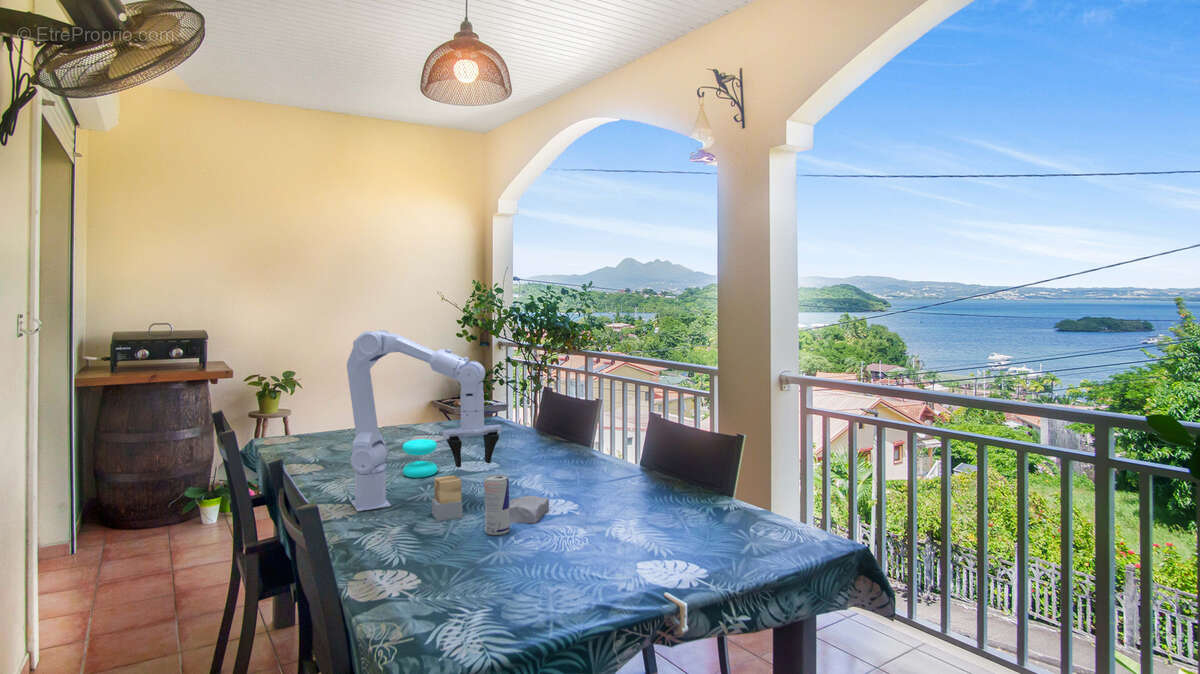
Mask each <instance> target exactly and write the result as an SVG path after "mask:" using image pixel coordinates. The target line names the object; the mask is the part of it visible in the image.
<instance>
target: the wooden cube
mask: <svg viewBox="0 0 1200 674" xmlns="http://www.w3.org/2000/svg"><path fill="white" fill-rule="evenodd" d="M433 481H434V485H433V486H434V498H435V499H436V500H437V501H438V502H439V503H440V504H444V503H450V502H456V501H461V500H462V479H461V478H459V477H458V476H456V474H453V475H446V476H439V477H434V479H433Z"/></svg>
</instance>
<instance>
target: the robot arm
mask: <svg viewBox="0 0 1200 674" xmlns="http://www.w3.org/2000/svg"><path fill="white" fill-rule="evenodd" d="M352 346H353V347H352V349H351V351H350V354H349V357H348V359H347V362H346V370H347V371H346V372H347V378H348V386H349V393H350V400H351V406H352V407H351V408H352V414H353V415H352V416H353V422H354V431H355V437H354V439H353V442H352V445H351V446H352V454H350V455H351V456H350V464H351V467H352V468H353V470H354V499H352V500H350V503H351V505H352V506H353V507H355V508H354V509H355V510H356V512H363V511H364V510H365V511H369V510H376V509H383V508H389V507H391V503H390V502H389V501H388V500H387V485H386V483H387V482H386V479H387V477H386V465H385V462H386V461H387V460H388V458H389V455H390V453H389V447H388V446H387V445H386V443H385V441H384V436H383V434H382V433H381V432H380V431H379V426H378V419H377V418H378V417H377V411H376V404H375V396H374V395H375V394H374V389H373V382H372V381H373V380H372V376H371V369H372V367H373V366H374V365H376V363H377V362H378V361H379V359H381V358H383V357H385V356H387V355H388V354H390V353H401V354H403V355H406V356H409V357H411V358H414V359H418V360H419V361H423V362H425V363H428V364H429V366H430V368H431V370H432V371H434V372H435V373H438V374H441V375H444V376H445V377H448V378H451V379H453V380H457V381H458V382H459V384H460V394H459V395H460V398H459V399H460V427H457V428H450V429H444V430H442V439H443V440H446V442H447V444H448V446H449V448H450V451H451V453H452V456H453V460H454V463H455V467H456V468H461V467H462V443H463V442H462V440H460V438H462V437H466V438H467V437H472V436H473V437H475V436H481V435H482V436H483V443H484V462H485V463H486V464H491V461H492V456H493V453H494V449H495V447H496V445H497V443H498V442H499V439H500V435H499V434H502V425H501V424H491V425H490V424H489V425H488V424H487V425H486V424H485V399H484V398H485V397H484V394H485V392H484V379H485V377H486V369H485V367H484V365H483V364H482V363H480V362H479V361H477V360H472V361H469V360H470V358H469V357H466V356H465V357H462V356H459V355H457V354H456V353H453V350H452V349H449V348H445V349H443V348H441V349H438V350H436V351H434V350H432V349H430V348H428V347H426V346H424V345H422V344H420V343H417V342H415V341H413V340H412V339H409V338H407V337H404V336H403V335H401V334H398V333H394V332H389V331H387V330H384V329H382V330H375V331H373V330H371V331H370V330H367V331H363V332H362V333H361V334H359V336H357V337H356V338H355V339H354V340H353V342H352Z"/></svg>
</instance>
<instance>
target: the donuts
mask: <svg viewBox="0 0 1200 674" xmlns="http://www.w3.org/2000/svg"><path fill="white" fill-rule="evenodd" d="M437 448H438V443H437V442H436V441H435V440H433V439H428V438H425V439H424V438H422V439H421V438H419V439H412V440H408V441H406V442H404V443H403V444H402V451H403V452H404V453H406V454H407V455H409V456H426V455H430V454H432V453H433V452H435V451H436V450H437ZM402 472H403V475H404V476H406V477H408V478H414V479H418V478H428V477H431V476H434V475H435V474H436V473H437V472H438V466H437V463H435V462H433V461H430V460H416V461H412V462H411V461H410V462H409V463H407V464H406V465H404V467H403V469H402Z"/></svg>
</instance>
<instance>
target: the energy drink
mask: <svg viewBox="0 0 1200 674" xmlns="http://www.w3.org/2000/svg"><path fill="white" fill-rule="evenodd" d="M484 478H485V479H484V482H483V483H484V490H483V491H484V493H483V494H484V532H485V533H486V534H487V535H488V536H489V535H490V536H501V535H502V536H503V535H505V534H507V533H509V531H510V524H511V523H510V520H509V502H510V480H509V476H508V475H505V474H492V475H488V476H486V477H484Z"/></svg>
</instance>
